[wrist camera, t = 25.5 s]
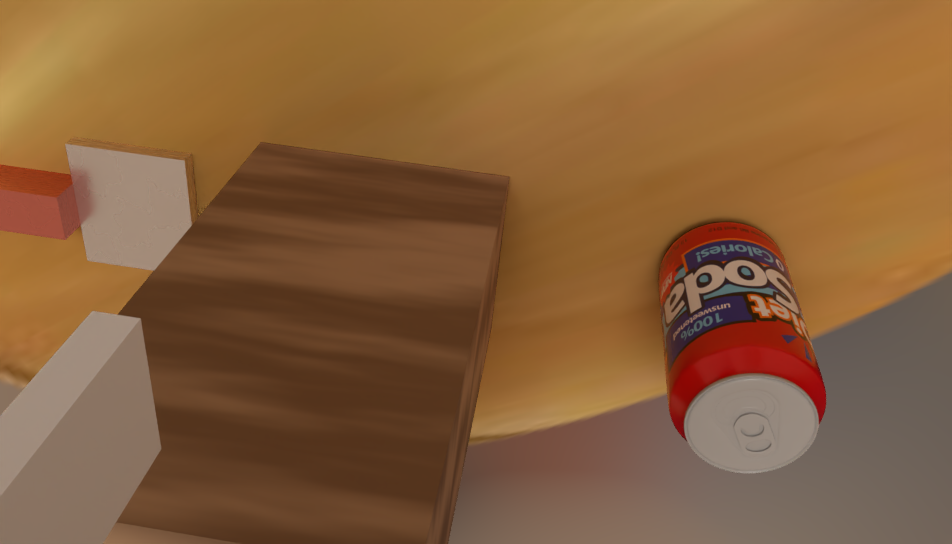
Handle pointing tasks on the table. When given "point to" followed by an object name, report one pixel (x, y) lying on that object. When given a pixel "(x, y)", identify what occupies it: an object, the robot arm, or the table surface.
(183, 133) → the table surface
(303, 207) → the stand
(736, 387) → the soda can
